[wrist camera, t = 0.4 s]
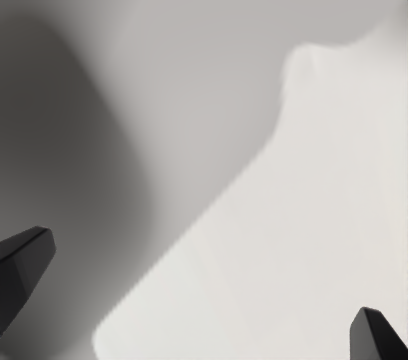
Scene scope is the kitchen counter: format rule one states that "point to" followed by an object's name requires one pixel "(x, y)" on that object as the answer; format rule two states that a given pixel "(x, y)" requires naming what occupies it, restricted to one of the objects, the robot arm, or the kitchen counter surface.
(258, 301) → the kitchen counter surface
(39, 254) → the robot arm
